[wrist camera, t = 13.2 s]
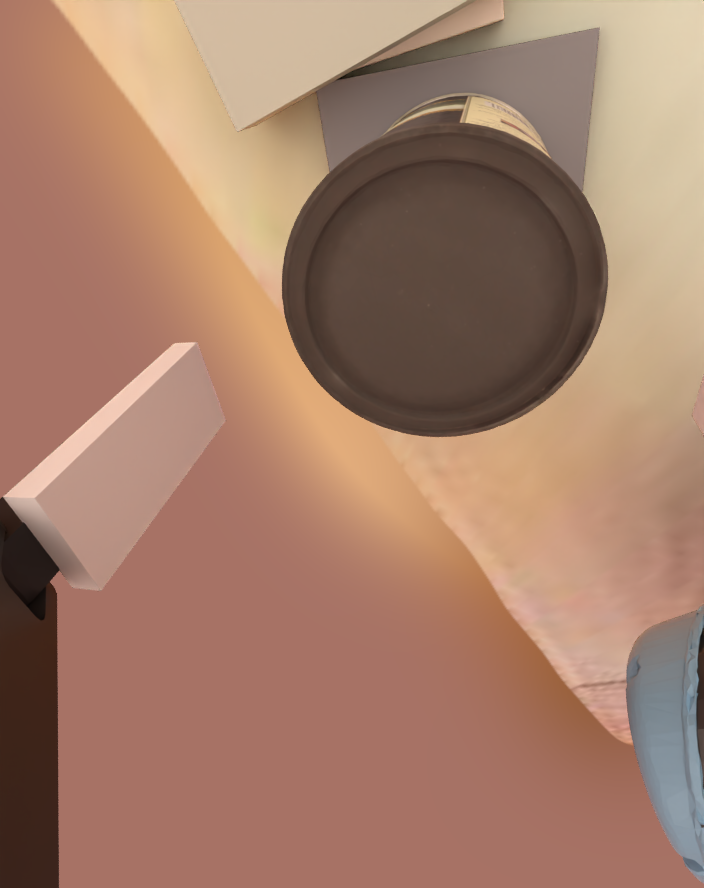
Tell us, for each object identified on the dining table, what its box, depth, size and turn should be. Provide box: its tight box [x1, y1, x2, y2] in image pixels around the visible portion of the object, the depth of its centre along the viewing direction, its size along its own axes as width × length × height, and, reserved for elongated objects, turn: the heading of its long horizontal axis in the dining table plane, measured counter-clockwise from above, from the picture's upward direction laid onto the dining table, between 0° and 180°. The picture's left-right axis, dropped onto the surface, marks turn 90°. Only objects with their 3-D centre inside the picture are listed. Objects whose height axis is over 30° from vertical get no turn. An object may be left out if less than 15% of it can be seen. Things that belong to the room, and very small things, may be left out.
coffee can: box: [282, 93, 608, 437], centre depth 21 cm, size 10×10×14 cm
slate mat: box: [316, 27, 600, 192], centre depth 27 cm, size 13×13×1 cm
